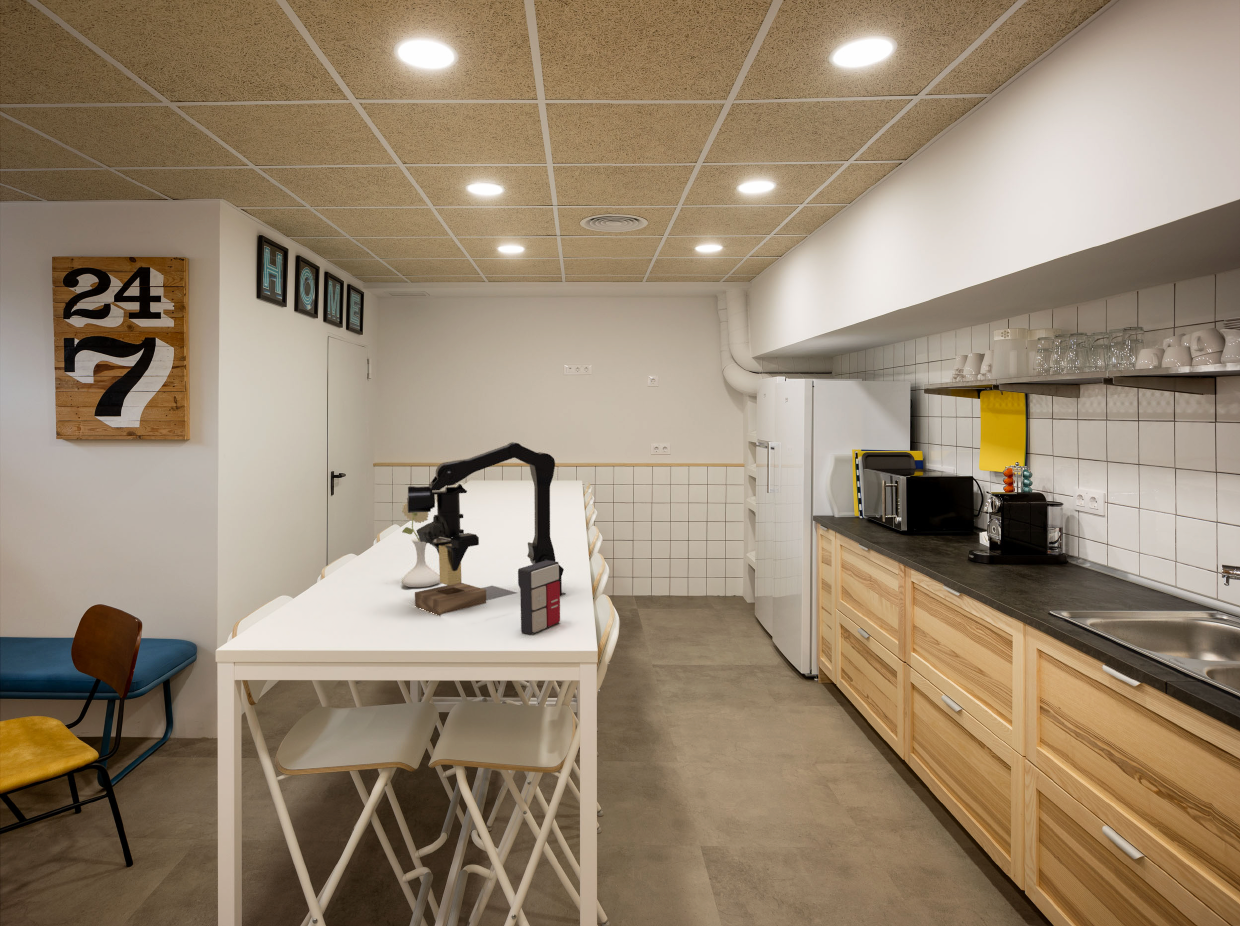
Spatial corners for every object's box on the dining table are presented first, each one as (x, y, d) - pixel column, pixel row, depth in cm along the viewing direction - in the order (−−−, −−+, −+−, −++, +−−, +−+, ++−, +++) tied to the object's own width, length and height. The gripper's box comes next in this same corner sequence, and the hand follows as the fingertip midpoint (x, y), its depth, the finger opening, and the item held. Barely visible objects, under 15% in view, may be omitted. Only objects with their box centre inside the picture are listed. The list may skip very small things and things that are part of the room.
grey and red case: (533, 635, 156) (532, 570, 155) (518, 632, 158) (517, 568, 157) (562, 623, 165) (561, 561, 164) (548, 620, 168) (547, 559, 167)
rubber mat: (517, 594, 192) (517, 592, 192) (482, 603, 183) (481, 601, 183) (492, 587, 200) (492, 585, 200) (456, 595, 192) (456, 593, 191)
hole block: (486, 604, 182) (486, 589, 182) (440, 616, 172) (439, 600, 172) (460, 596, 190) (460, 582, 190) (415, 607, 180) (414, 592, 180)
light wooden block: (461, 582, 181) (460, 544, 180) (448, 585, 178) (447, 547, 177) (453, 580, 183) (451, 543, 183) (439, 582, 180) (438, 545, 180)
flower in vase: (449, 584, 204) (447, 500, 203) (419, 592, 195) (417, 505, 193) (419, 578, 211) (417, 498, 210) (389, 586, 202) (386, 502, 200)
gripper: (402, 510, 180) (404, 569, 181) (441, 517, 167) (443, 581, 168) (439, 506, 188) (441, 562, 189) (479, 512, 175) (480, 573, 176)
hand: (450, 569), depth 180 cm, fingers closed on light wooden block, 4 cm apart
